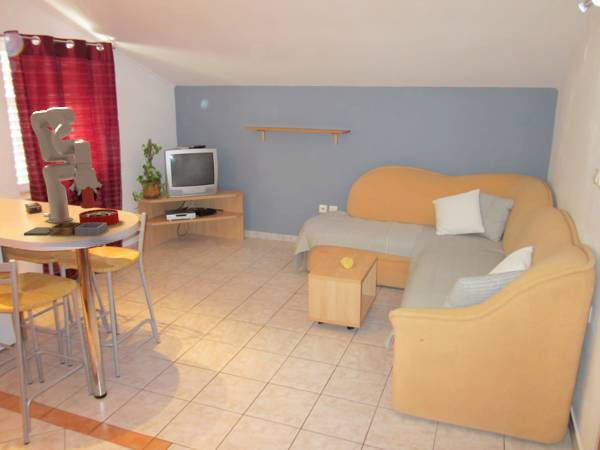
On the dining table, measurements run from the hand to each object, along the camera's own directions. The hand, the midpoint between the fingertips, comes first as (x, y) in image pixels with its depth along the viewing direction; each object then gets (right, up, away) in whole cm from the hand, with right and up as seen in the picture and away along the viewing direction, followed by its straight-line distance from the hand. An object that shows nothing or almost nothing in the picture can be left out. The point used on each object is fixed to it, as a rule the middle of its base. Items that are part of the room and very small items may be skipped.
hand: (87, 201), depth 258 cm
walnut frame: (-12, -16, +4) cm, 20 cm away
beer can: (0, -3, +1) cm, 3 cm away
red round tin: (-3, -11, +23) cm, 26 cm away
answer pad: (-25, -16, +5) cm, 30 cm away
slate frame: (+1, -16, +3) cm, 16 cm away
